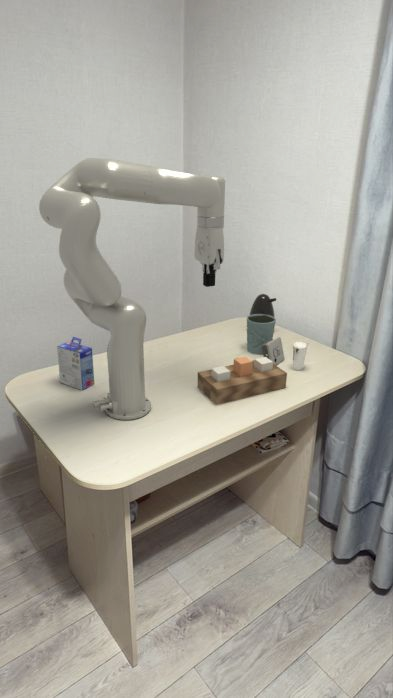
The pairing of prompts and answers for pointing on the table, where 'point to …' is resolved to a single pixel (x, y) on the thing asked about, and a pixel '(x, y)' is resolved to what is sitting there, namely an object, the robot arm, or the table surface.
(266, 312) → the pump dispenser
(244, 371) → the terracotta peg
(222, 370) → the grey peg left
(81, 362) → the ink cartridge box
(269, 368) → the grey peg right
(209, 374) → the socket board
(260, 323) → the teal plant pot
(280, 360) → the electrical switch
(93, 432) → the table surface
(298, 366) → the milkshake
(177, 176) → the robot arm
